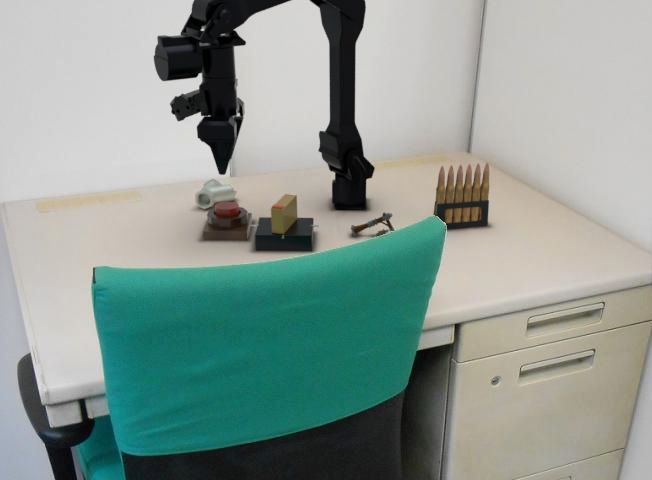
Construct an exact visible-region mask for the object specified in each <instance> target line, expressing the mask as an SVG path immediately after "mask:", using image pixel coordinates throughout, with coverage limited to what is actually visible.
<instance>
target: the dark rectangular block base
mask: <svg viewBox="0 0 652 480" xmlns="http://www.w3.org/2000/svg"><path fill="white" fill-rule="evenodd" d="M251 227H256V230H255V233H254V237H255V238H254V240H255V241H254V242H255V251H256V252H312V251H313V245H314V236H315V235H314V234H315V231H314V229H315V228H319V224H314V217H297V220H296V221H295V222H294V223H293V224H292V225H291V227H290V228H289V229H288V230H287V231H286V232H285V233H284V234H278V233H272V222H271V216H270V217H267V216H266V217H263V216H262V217H261V216H260V217H259V219H258V222H257V224H251ZM314 227H315V228H314Z"/></svg>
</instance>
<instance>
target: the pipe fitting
mask: <svg viewBox="0 0 652 480" xmlns="http://www.w3.org/2000/svg"><path fill="white" fill-rule="evenodd" d="M237 193H238V192H237V189H235V187H233V185H232V184H230V183H229V184H228V183H227V184H222V183H221V182H220V181H218V180H217V179H215V178H211V179H208V180H207V181H205V182H204V183H203V186H202V188H201V189H200V190H198V191H196V193H195V196H194V197H195V199H194V201H195V205H196V206H198V207H199V208H200V209H202V210H206V209H209V208H211V207H213V206H214V205H216V204H217V203H220V202H234V200H235V197H236V195H237Z"/></svg>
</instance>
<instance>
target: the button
mask: <svg viewBox="0 0 652 480" xmlns="http://www.w3.org/2000/svg"><path fill="white" fill-rule="evenodd" d="M239 207H240V205H239V203H237V202H235V201H227V202H220V203H216V204H214V208H215V215H216V216H219V217H233V216H237V215H239Z"/></svg>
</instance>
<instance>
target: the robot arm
mask: <svg viewBox="0 0 652 480" xmlns="http://www.w3.org/2000/svg"><path fill="white" fill-rule="evenodd" d="M288 2H292V0H193V2H192V4H191V12H190V14H189V15H188V18H187V20H186V22H185V24H184V25H183V28H182V29H181V32H180V35H179V34H178V35H166V34H165V35H164V34H163V35H157V37H156V39H157V44H156V46H155V49H154V55H153V64H154V68H155V71H156V74H157V76H158V78H159V80H161V82H170V81H171V82H172V81H180V80H188V79H196V78H198V77H199V74H201V83H200V84H199V86H198V89H194V90H192V91H189V92H187V93H181V94H180V95H174V97H173V99H172V100H171V101H170V103H169V106H170V108H171V109H170V110H171V111H170V112H171V115H174V117H175V119H176V121H177V122H182V121H185V119H187V118H188V117H189V118H190V117H192V116H194V115H197V114H199V113H200V117H202V118H201V120H199V122H198V124H197V125H196V134H197V139H199V140H200V141H201V143H204V144H206V145H207V146H208V147H209V149H210V151H211V154H212V157H213V159H214V163H215V166H216V170H217V172H218V174H219V175H221V176H225V175H226V174H227V171H228V167H229V164H230V160H232V157H233V154H234V152H235V147H236V145H237V141H238V138H239V135H240V131H241V128H242V125H243V122H244V118H245V117H244V116H245V113H246V112H245V102H244V101H243V100H242V98H240V97H238V92H237V91H238V89H237V87H238V86H239V82H238V79H239V78H237V73H236V72H237V71H236V56H235V47H243V46H246V45H247V41H246V40H245V39H243V38H242V37H241V35H239V34H238V32H237V30H236V29H237V28H239V27H241V26H242V25H244V24H245V23H246V22H247V21H248V19H250V18H251V17H252V16H254V15H255V14H257V13H261V12H264V11H266V10H269V9H272V8H274V7H278V6H280V5H284V4H285V3H288ZM309 2H310V3H312V4H313V5H314V6H316V7H317V8H318V9H319V14H320V20H321V25H322V28H323V30H324V33H325V35H326V38H327V40H328V46H329V47H328V48H329V49H328V50H329V51H328V53H329V54H328V56H329V57H328V58H329V61H328V63H329V64H328V65H329V122H328V125H327V127H326V129H325V130H319V132H318V139H319V147H318V153H321V158H322V160H323V162H325V163H326V164H327V166H328V170H329V171H330V172H333V173H334V179H332V180H331V203H332V204H333V205H334V210H367V209H368V204H367V180H369V179H373V176H374V172H375V169H376V167H375V165H373V164H372V163H371V162H370V161H369V160H368V159H367V158H366V156H365V153H364V147H363V138H362V136H361V134H360V132H359V128H358V127H357V123H356V69H357V68H356V65H357V63H356V61H357V60H356V59H357V58H356V56H357V55H356V53H357V52H356V50H357V41H358V39H359V38H360V35H361V33H362V31H363V29H364V23H365V18H366V10H367V6H366V0H309ZM202 29H203V30H202ZM238 114H239V115H238Z"/></svg>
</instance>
